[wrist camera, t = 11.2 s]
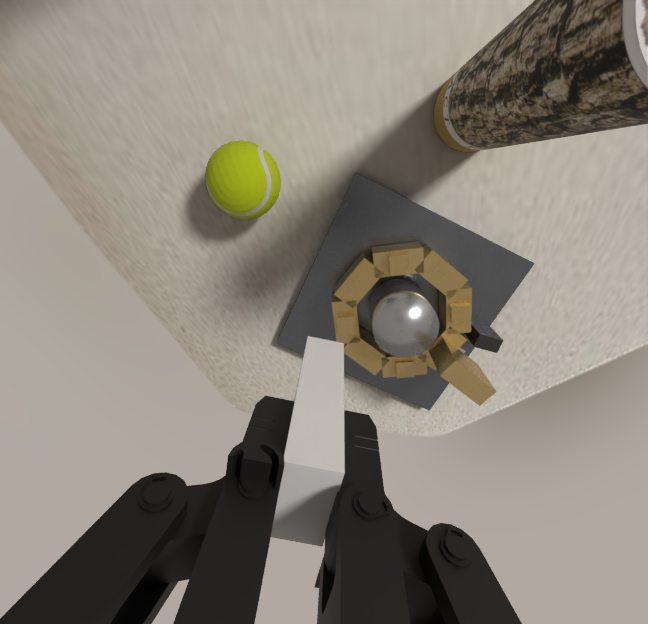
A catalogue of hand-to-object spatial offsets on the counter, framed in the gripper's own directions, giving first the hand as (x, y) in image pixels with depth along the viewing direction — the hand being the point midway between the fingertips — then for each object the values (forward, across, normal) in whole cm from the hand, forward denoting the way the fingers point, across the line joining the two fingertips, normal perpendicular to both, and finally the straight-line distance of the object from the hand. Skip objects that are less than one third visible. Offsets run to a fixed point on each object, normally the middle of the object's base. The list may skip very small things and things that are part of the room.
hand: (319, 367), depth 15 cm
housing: (+24, +8, -5) cm, 26 cm away
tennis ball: (+25, -9, +4) cm, 27 cm away
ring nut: (+23, +9, -6) cm, 25 cm away
